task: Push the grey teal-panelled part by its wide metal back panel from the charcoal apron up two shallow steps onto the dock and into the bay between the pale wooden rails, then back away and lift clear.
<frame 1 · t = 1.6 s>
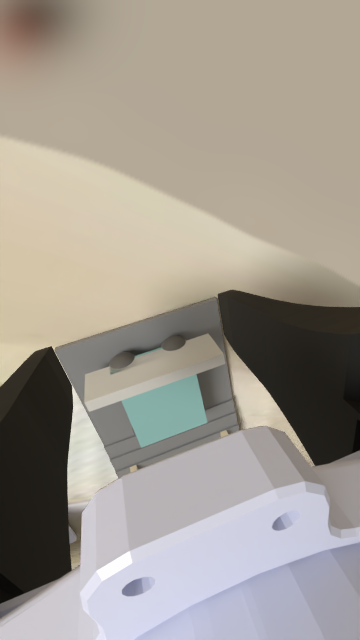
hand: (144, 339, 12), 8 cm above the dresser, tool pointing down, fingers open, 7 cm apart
grey teal-panelled part: (157, 381, 23), resting on dock
dock: (184, 465, 29), on the dresser
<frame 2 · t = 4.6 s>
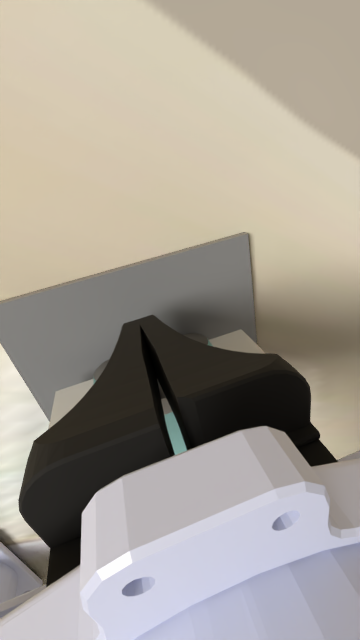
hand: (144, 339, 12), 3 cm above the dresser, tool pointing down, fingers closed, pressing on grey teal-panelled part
grey teal-panelled part: (165, 399, 16), point 1 cm above the dresser, touching dock, gripper
dock: (191, 486, 21), on the dresser
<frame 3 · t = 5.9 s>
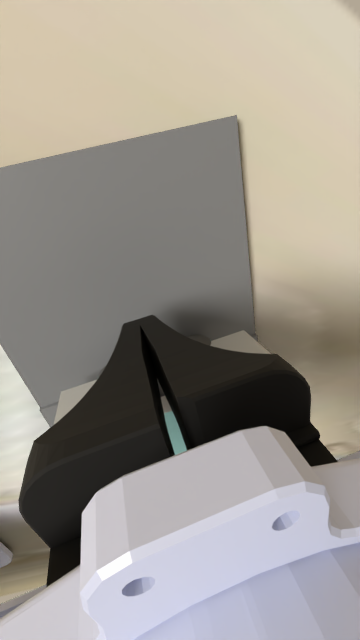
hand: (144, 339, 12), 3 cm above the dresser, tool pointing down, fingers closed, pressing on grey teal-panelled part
grey teal-panelled part: (169, 403, 16), point 1 cm above the dresser, tilted 6°, touching dock, gripper
dock: (178, 447, 19), on the dresser
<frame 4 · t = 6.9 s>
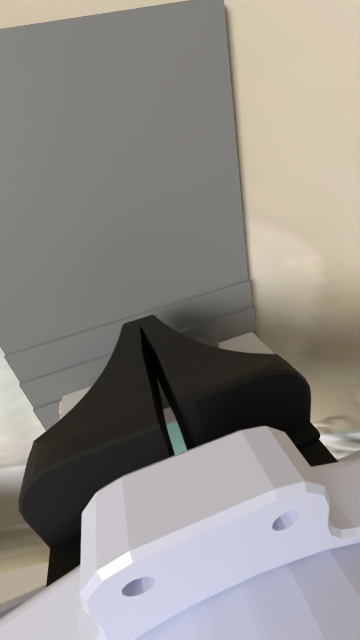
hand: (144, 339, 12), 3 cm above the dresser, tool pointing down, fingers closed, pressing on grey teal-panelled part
grey teal-panelled part: (172, 401, 16), point 1 cm above the dresser, touching dock, gripper
dock: (165, 412, 18), on the dresser
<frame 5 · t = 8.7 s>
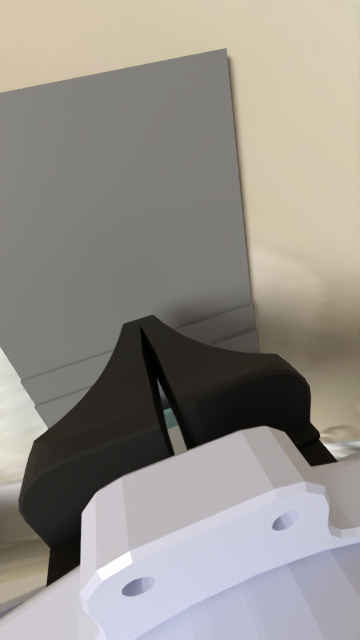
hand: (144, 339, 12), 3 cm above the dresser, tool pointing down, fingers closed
grey teal-panelled part: (186, 435, 17), point 1 cm above the dresser, touching dock
dock: (172, 427, 18), on the dresser
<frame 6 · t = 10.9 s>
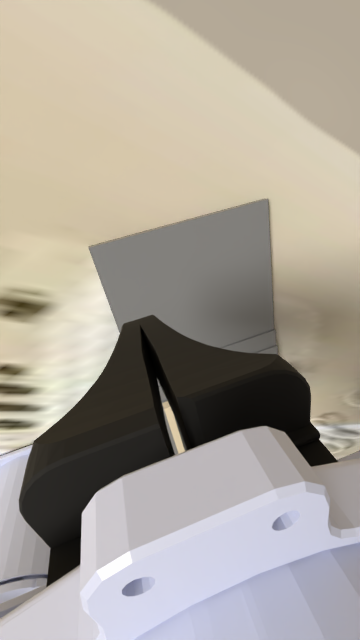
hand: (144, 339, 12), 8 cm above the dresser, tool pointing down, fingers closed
dock: (217, 410, 27), on the dresser
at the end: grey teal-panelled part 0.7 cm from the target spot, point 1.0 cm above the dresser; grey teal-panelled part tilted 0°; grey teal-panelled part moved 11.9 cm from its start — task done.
